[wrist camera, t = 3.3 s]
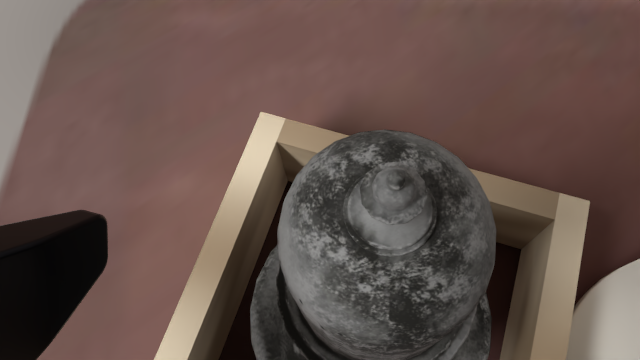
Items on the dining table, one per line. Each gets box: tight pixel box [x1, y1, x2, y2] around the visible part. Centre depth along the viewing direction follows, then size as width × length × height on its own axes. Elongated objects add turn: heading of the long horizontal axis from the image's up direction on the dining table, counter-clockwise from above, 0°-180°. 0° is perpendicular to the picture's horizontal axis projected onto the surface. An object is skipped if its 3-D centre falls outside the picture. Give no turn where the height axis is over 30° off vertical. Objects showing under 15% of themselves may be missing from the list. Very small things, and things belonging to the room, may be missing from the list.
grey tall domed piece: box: [250, 130, 496, 360], centre depth 10 cm, size 6×6×12 cm
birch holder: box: [154, 112, 590, 360], centre depth 15 cm, size 10×10×3 cm
